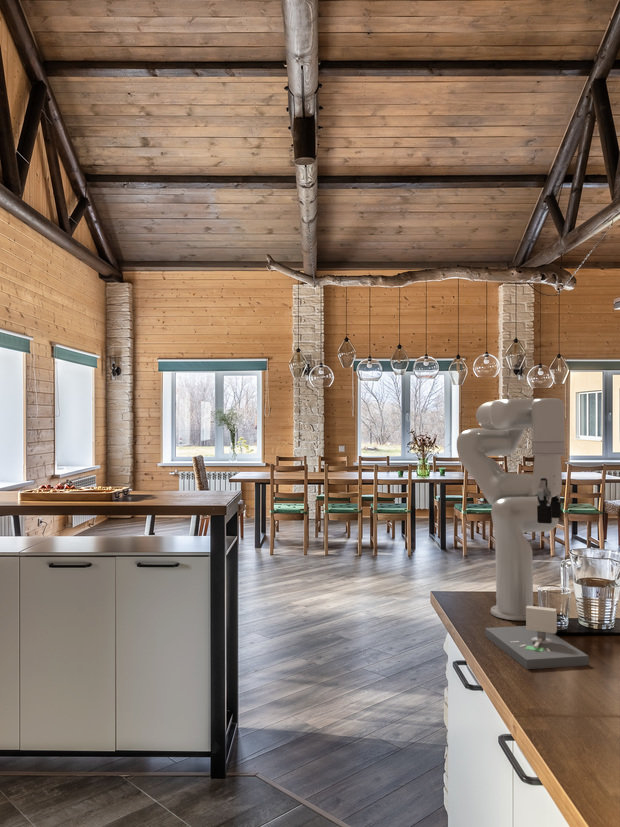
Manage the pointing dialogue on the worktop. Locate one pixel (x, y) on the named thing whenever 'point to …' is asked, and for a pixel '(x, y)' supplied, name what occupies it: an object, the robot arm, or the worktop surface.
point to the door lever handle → (541, 621)
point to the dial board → (523, 651)
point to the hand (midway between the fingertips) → (549, 520)
